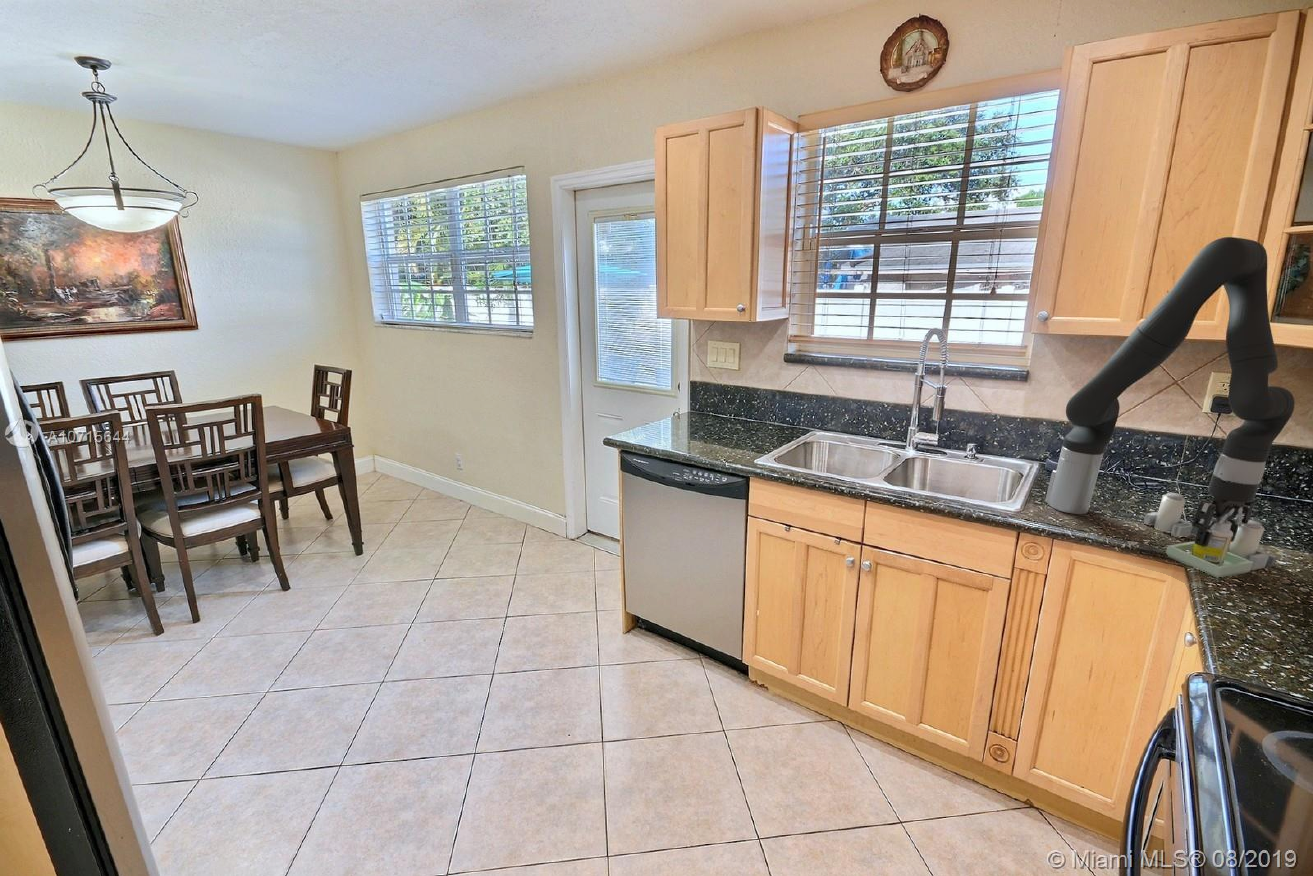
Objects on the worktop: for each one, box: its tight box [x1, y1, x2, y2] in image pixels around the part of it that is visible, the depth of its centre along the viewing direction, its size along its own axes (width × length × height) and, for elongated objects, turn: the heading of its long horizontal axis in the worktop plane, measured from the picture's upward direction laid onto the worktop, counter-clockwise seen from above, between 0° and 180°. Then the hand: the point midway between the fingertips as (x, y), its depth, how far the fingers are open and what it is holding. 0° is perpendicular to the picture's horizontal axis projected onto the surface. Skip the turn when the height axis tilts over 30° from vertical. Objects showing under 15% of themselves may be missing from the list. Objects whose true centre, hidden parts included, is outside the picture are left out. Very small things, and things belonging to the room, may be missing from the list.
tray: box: [1165, 540, 1253, 579], centre depth 134 cm, size 11×11×2 cm
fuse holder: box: [1143, 511, 1279, 571], centre depth 143 cm, size 24×7×3 cm, turn 17°
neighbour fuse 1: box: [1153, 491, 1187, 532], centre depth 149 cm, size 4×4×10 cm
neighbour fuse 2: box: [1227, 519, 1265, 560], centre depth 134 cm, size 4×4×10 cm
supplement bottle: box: [1192, 517, 1233, 566], centre depth 133 cm, size 6×6×10 cm
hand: (1213, 542), depth 133 cm, fingers open, 8 cm apart
